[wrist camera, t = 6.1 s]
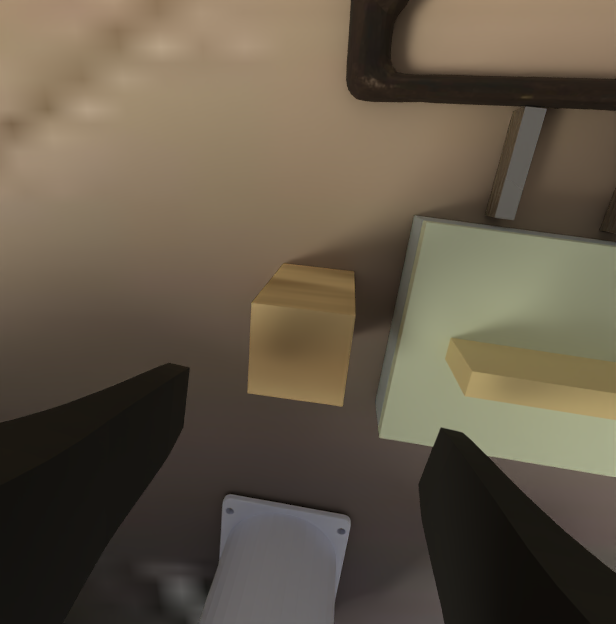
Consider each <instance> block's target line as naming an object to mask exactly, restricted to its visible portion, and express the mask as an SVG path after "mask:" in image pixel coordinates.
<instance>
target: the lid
mask: <svg viewBox="0 0 616 624" xmlns="http://www.w3.org/2000/svg"><path fill="white" fill-rule="evenodd" d="M441 427H442V428H446V429H451V430H455V431H459V432H463V433H464V434H465V435H466V436H467V437H469V438H470V439H471V440H472V441H473V442H474V443H475V444H476V445H477V446H478V447H479V448H480V449H481V450H482V451H483V452H484V453H485V454H486V455H487V456H491V457H497V458H503V459H509V460H515V461H521V462H527V463H533V464H539V465H545V466H551V467H557V468H563V469H569V470H575V471H581V472H587V473H593V474H599V475H605V476H611V477H616V246H614V245H606V244H599V243H591V242H584V241H576V240H569V239H561V238H554V237H546V236H539V235H531V234H524V233H516V232H508V231H501V230H493V229H486V228H478V227H471V226H463V225H456V224H448V223H441V222H433V221H425V220H423V223H422V227H421V232H420V237H419V241H418V246H417V250H416V255H415V260H414V264H413V269H412V273H411V278H410V283H409V287H408V292H407V296H406V301H405V306H404V310H403V315H402V319H401V324H400V329H399V333H398V338H397V342H396V347H395V351H394V356H393V361H392V365H391V370H390V374H389V379H388V384H387V388H386V393H385V397H384V402H383V407H382V411H381V416H380V420H379V425H378V432H379V438H384V439H390V440H396V441H402V442H408V443H414V444H419V445H425V446H431V447H433V446H434V443H435V441H436V438H437V436H438V433H439V430H440V428H441Z"/></svg>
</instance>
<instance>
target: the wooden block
mask: <svg viewBox="0 0 616 624" xmlns="http://www.w3.org/2000/svg"><path fill="white" fill-rule="evenodd" d="M355 316H356V314H355V283H354V271H347V270H338V269H329V268H321V267H312V266H303V265H294V264H286V263H283V265H282V266H281V267H280V268H279V270H278V271H277V272H276V273H275V275H274V276H273V277H272V278H271V279H270V281H269V282H268V283H267V284H266V286H265V287H264V288H263V289H262V291H261V292H260V293H259V294H258V295H257V297H256V298H255V299H254V300H253V302H252V303H251V324H250V347H249V369H248V392H247V393H250V394H257V395H264V396H271V397H278V398H285V399H292V400H300V401H307V402H314V403H321V404H328V405H335V406H343V400H344V393H345V386H346V379H347V372H348V365H349V358H350V351H351V344H352V337H353V330H354V323H355Z"/></svg>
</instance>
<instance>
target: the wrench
mask: <svg viewBox="0 0 616 624" xmlns="http://www.w3.org/2000/svg"><path fill="white" fill-rule="evenodd" d="M408 1H409V0H351V9H350V26H349V41H348V55H347V74H346V80H347V87H348V90H349V91H350V93H351V94H352V95H353V96H354V97H355V98H356V99H359V100H364V101H371V102H429V103H447V104H473V105H500V106H527V107H551V108H557V109H558V108H572V109H595V110H612V111H616V79H588V78H549V77H502V76H464V75H413V74H403V73H399V72H397V71H396V70H395V69H394V68H393V66H392V63H391V55H390V52H391V42H392V33H393V27H394V23H395V20H396V18H397V16H398V15H399V13H400V12H401V11H402V10H403V8H404V7H405V6H406V5H407V3H408Z"/></svg>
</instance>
